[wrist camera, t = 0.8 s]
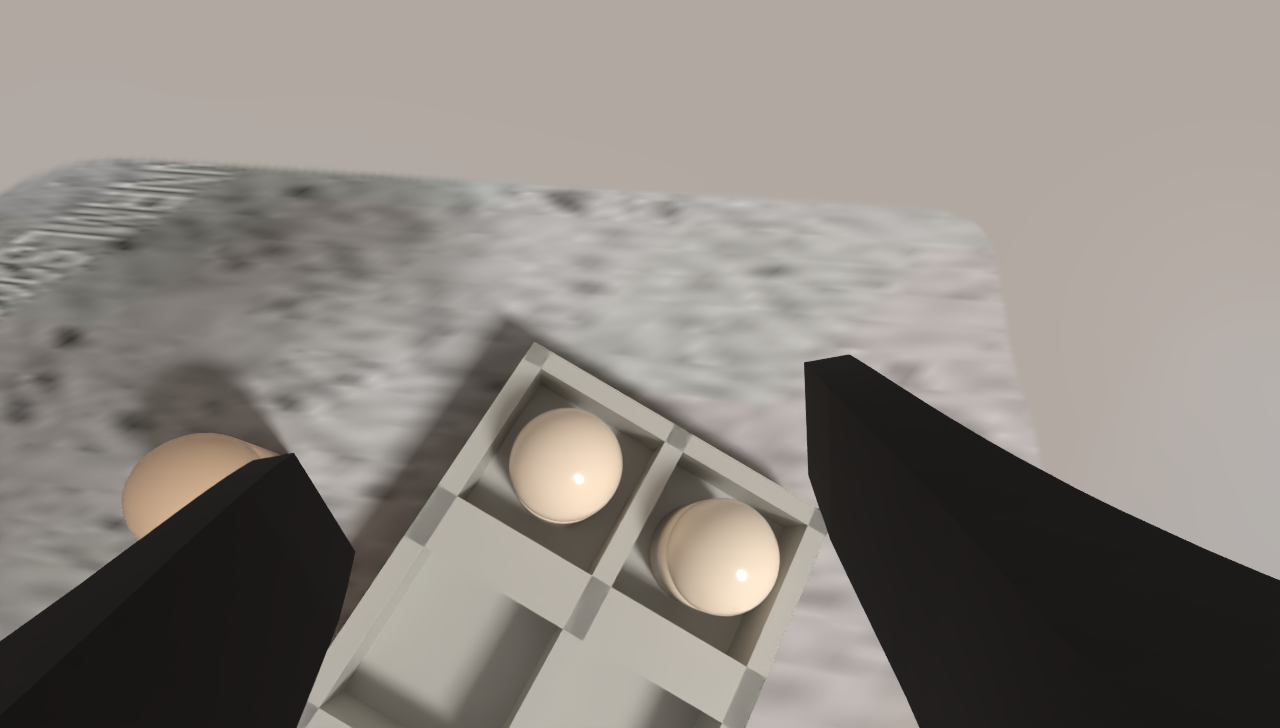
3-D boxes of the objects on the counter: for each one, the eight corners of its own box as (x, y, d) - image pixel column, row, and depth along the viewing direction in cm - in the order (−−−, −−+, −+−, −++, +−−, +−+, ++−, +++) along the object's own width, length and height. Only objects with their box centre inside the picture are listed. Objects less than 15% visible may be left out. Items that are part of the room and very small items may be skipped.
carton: (639, 891, 22) (654, 942, 19) (313, 697, 22) (280, 720, 19) (801, 520, 27) (833, 517, 24) (534, 363, 27) (534, 341, 24)
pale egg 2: (717, 625, 24) (767, 647, 19) (631, 574, 24) (657, 582, 19) (759, 534, 26) (817, 531, 20) (677, 486, 26) (713, 471, 20)
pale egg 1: (579, 544, 24) (591, 543, 19) (493, 493, 24) (481, 478, 19) (628, 457, 26) (651, 434, 20) (546, 409, 26) (548, 374, 20)
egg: (259, 576, 23) (174, 584, 17) (168, 522, 23) (55, 514, 17) (329, 482, 24) (269, 463, 19) (242, 431, 24) (158, 397, 19)
